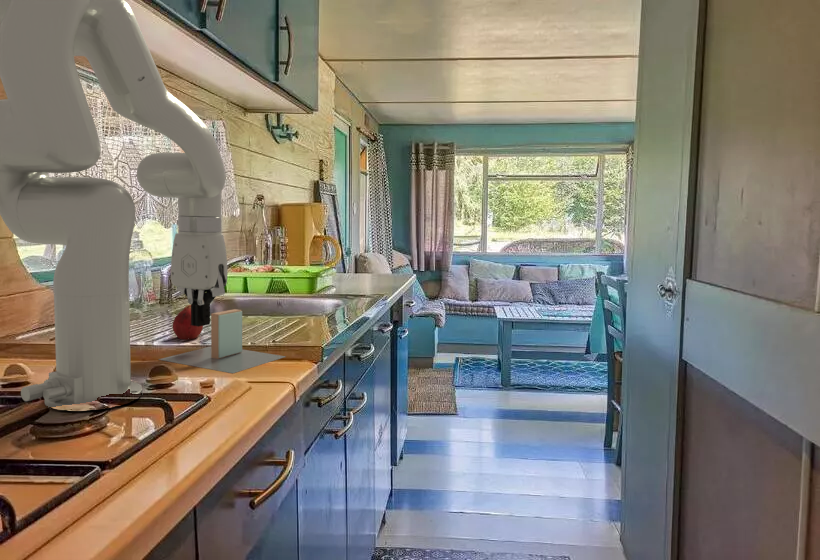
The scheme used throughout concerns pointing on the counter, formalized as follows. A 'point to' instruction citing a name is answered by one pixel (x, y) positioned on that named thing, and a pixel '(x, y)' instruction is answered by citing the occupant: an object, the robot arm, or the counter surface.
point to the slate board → (223, 360)
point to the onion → (185, 325)
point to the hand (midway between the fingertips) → (200, 324)
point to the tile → (226, 333)
